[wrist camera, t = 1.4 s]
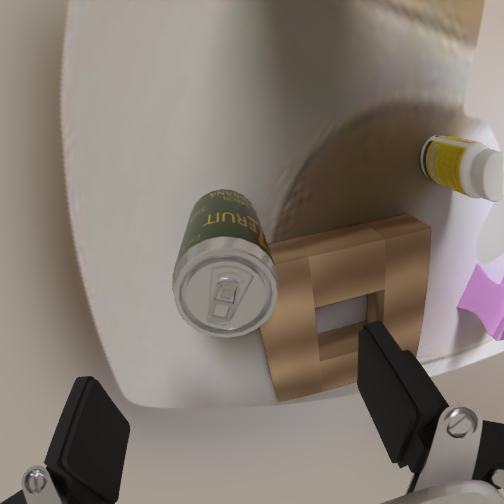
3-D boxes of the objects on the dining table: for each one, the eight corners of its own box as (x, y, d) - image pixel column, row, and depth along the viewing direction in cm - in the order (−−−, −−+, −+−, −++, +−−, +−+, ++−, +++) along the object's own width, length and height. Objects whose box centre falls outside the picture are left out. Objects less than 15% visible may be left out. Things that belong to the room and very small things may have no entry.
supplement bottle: (429, 190, 26) (487, 218, 18) (411, 148, 24) (473, 165, 17) (459, 167, 25) (518, 188, 18) (444, 126, 23) (506, 136, 16)
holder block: (242, 249, 27) (246, 270, 23) (407, 213, 27) (431, 227, 23) (272, 375, 33) (277, 402, 30) (400, 339, 33) (415, 360, 30)
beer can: (245, 256, 27) (261, 348, 16) (184, 240, 26) (161, 328, 15) (264, 197, 25) (298, 261, 14) (200, 180, 24) (181, 231, 13)
